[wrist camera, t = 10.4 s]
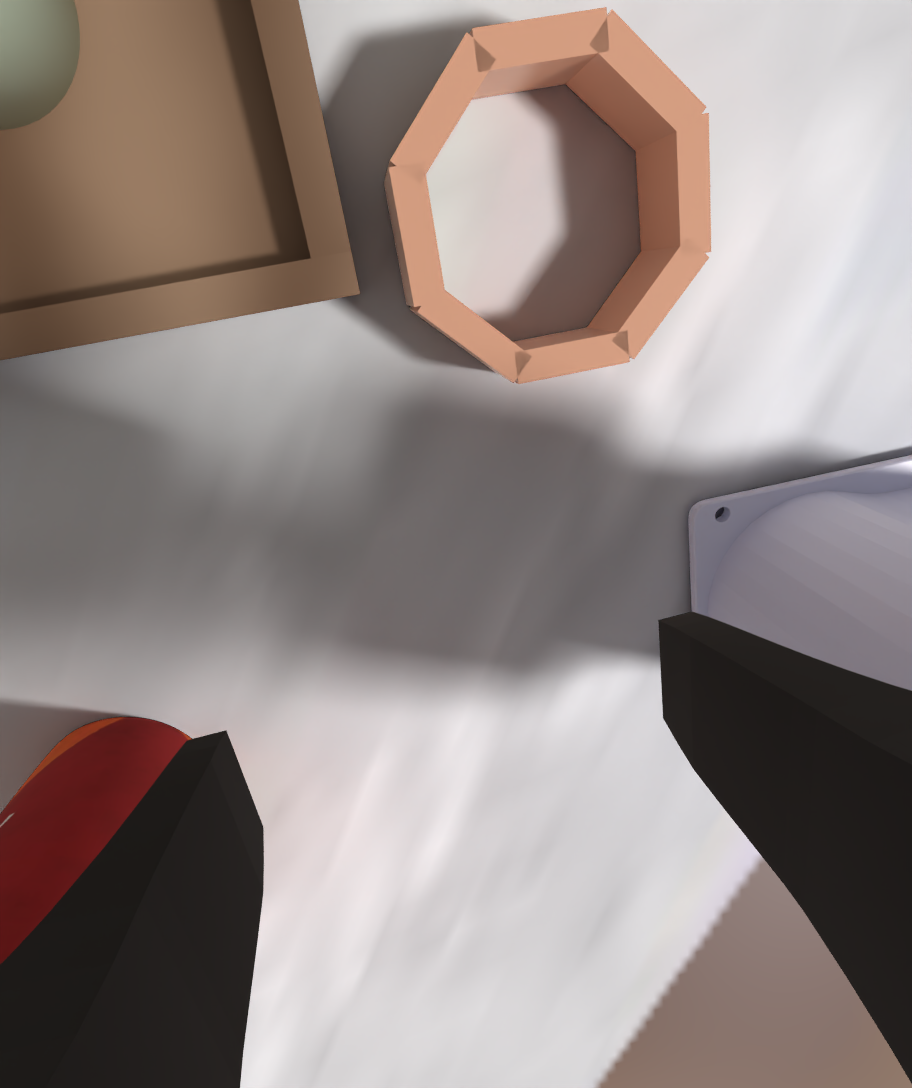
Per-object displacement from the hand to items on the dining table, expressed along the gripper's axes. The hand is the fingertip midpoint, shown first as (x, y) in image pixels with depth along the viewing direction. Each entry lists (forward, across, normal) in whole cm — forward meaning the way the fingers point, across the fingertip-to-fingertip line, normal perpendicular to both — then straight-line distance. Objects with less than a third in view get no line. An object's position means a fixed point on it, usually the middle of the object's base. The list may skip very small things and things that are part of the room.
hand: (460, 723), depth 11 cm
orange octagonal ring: (+10, -5, -7) cm, 14 cm away
